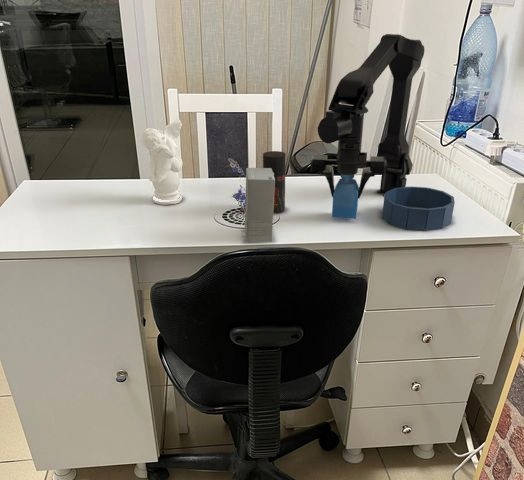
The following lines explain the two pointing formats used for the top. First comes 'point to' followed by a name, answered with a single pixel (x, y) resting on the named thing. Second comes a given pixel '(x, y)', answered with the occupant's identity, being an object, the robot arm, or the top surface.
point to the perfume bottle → (345, 197)
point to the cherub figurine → (164, 161)
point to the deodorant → (277, 177)
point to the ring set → (239, 189)
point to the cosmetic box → (259, 204)
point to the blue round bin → (418, 208)
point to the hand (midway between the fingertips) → (345, 197)
